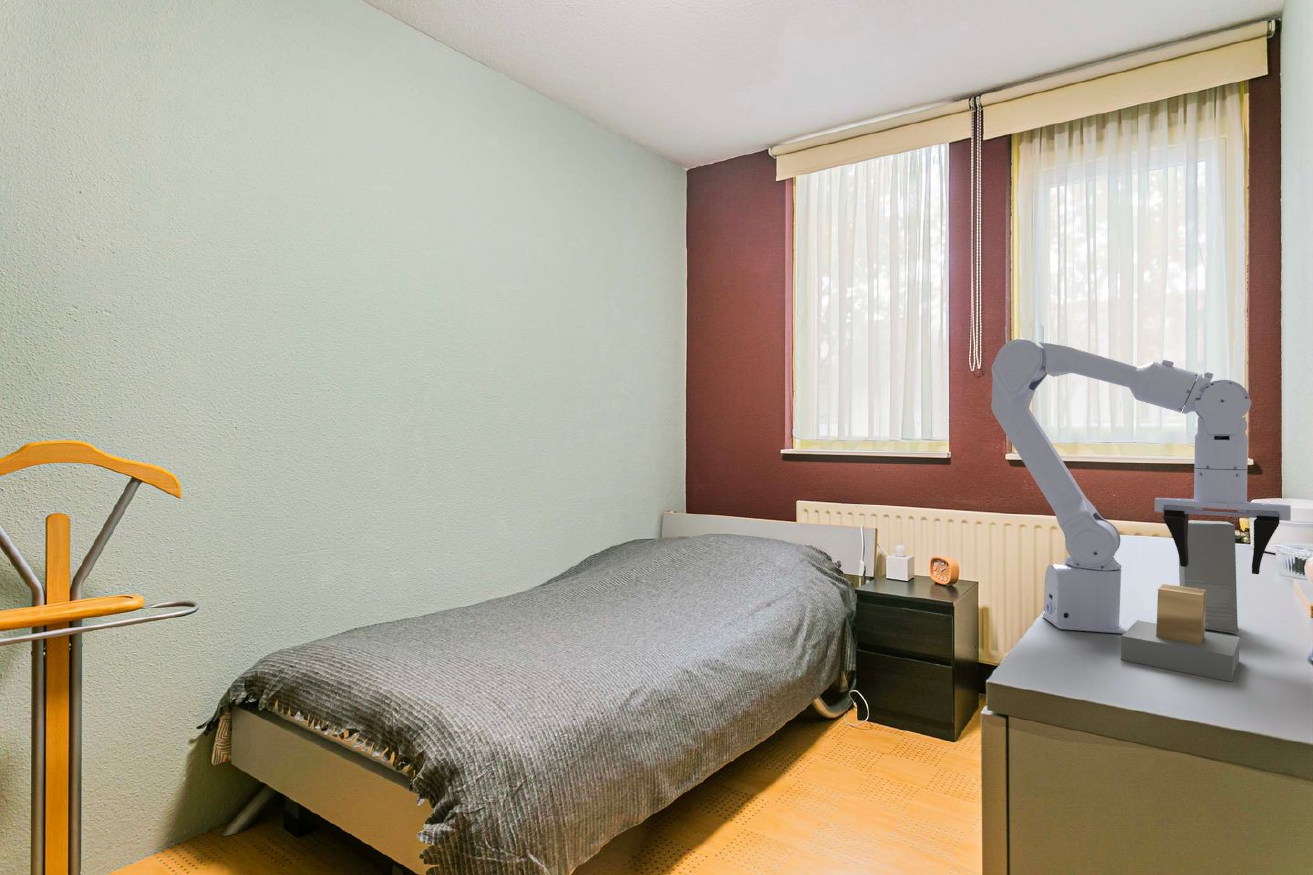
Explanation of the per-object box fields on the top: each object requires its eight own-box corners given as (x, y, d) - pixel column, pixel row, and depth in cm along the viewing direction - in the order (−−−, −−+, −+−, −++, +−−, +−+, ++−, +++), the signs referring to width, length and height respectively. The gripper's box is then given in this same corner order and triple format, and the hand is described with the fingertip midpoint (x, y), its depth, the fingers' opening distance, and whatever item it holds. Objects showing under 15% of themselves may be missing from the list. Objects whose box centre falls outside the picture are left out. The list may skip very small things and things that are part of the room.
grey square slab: (1231, 681, 85) (1232, 655, 85) (1120, 659, 92) (1121, 635, 92) (1238, 660, 93) (1239, 637, 93) (1136, 642, 100) (1137, 620, 100)
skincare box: (1238, 635, 105) (1243, 525, 105) (1177, 627, 109) (1181, 520, 109) (1230, 623, 113) (1234, 520, 112) (1173, 615, 116) (1177, 516, 116)
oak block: (1200, 644, 89) (1202, 595, 89) (1156, 636, 92) (1158, 588, 92) (1204, 637, 93) (1206, 589, 93) (1161, 629, 96) (1163, 583, 96)
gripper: (1151, 467, 101) (1150, 566, 101) (1290, 472, 92) (1288, 580, 92) (1159, 466, 107) (1158, 560, 107) (1291, 470, 97) (1290, 573, 97)
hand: (1219, 569), depth 100 cm, fingers open, 7 cm apart
